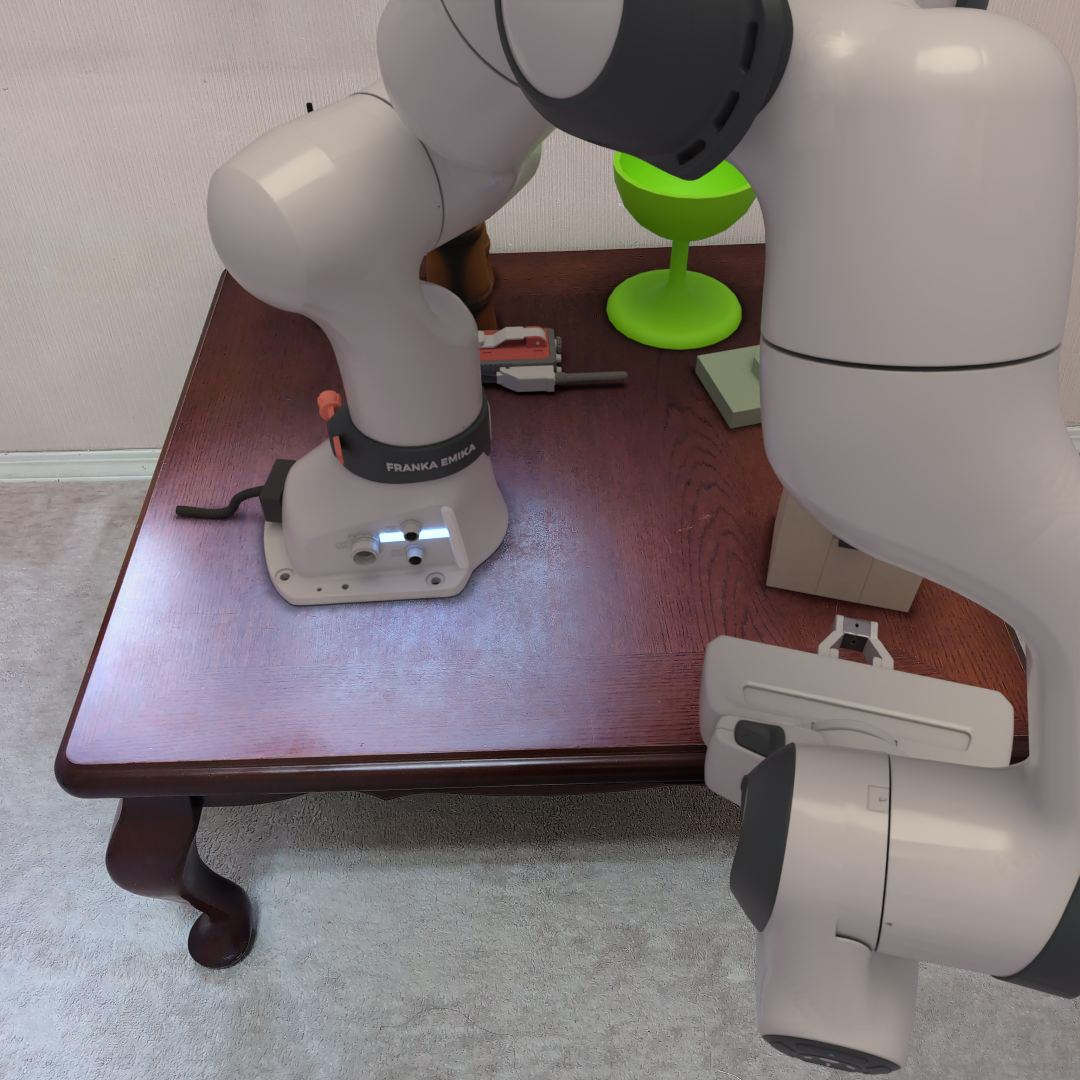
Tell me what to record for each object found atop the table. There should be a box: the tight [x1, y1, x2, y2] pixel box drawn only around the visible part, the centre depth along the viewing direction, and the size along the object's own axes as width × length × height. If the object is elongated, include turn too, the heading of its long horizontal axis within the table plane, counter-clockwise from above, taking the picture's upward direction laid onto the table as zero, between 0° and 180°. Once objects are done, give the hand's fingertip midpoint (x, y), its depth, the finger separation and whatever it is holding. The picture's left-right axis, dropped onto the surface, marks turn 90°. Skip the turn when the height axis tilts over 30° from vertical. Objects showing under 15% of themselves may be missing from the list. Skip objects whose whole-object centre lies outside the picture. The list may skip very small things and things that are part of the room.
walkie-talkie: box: [478, 325, 629, 393], centre depth 103 cm, size 9×4×20 cm
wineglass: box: [605, 151, 757, 351], centre depth 106 cm, size 16×16×18 cm
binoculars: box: [425, 221, 498, 331], centre depth 106 cm, size 18×8×20 cm, turn 4°
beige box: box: [765, 486, 924, 613], centre depth 79 cm, size 12×8×14 cm, turn 75°
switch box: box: [694, 343, 762, 429], centre depth 100 cm, size 12×10×4 cm
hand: (854, 623), depth 69 cm, fingers closed
